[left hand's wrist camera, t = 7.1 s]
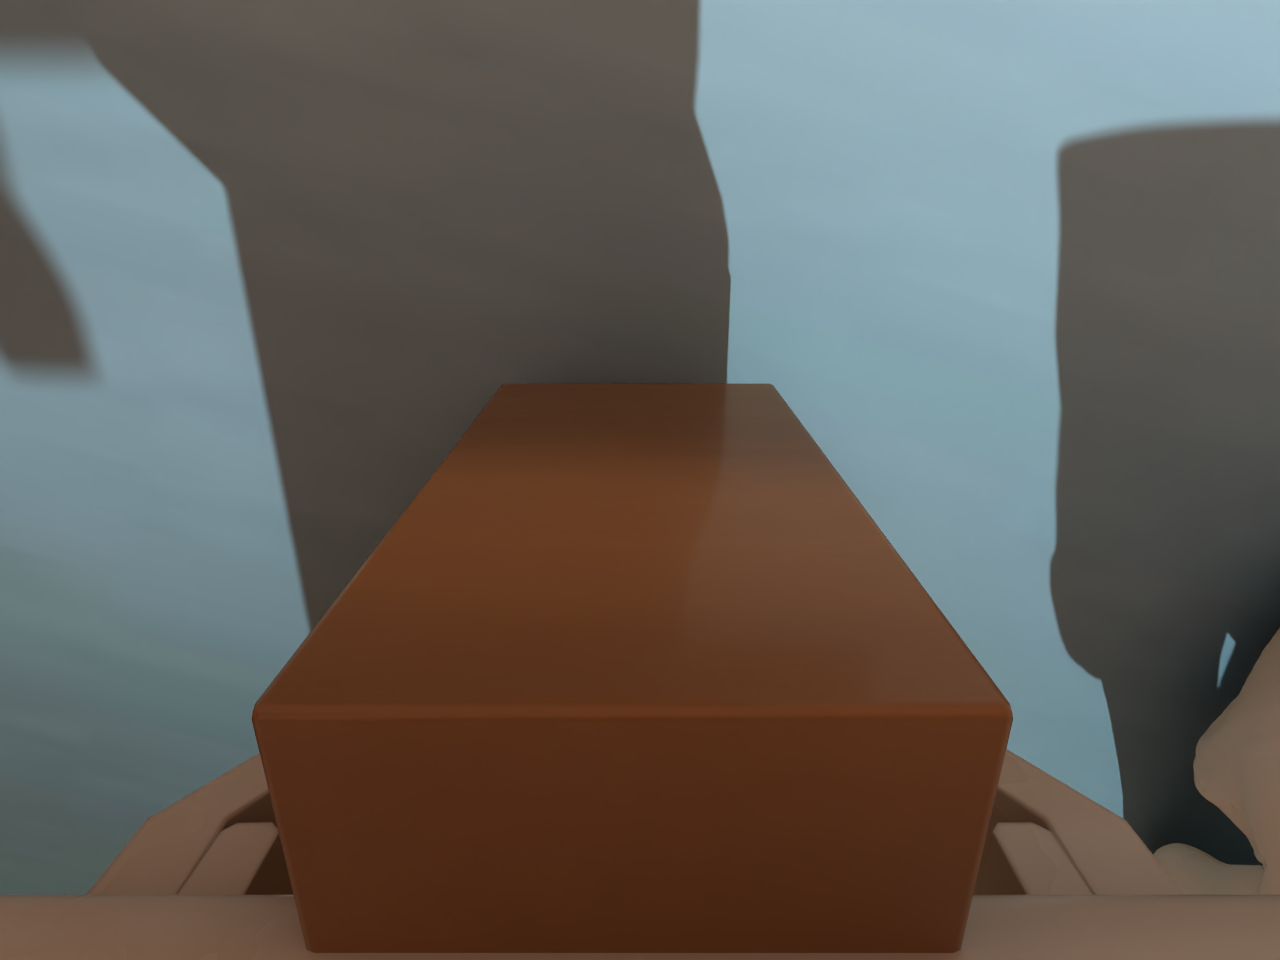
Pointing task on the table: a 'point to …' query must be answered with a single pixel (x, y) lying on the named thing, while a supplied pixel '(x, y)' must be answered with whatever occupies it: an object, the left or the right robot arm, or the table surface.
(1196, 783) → the skull bowl
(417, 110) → the table surface
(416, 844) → the bar
